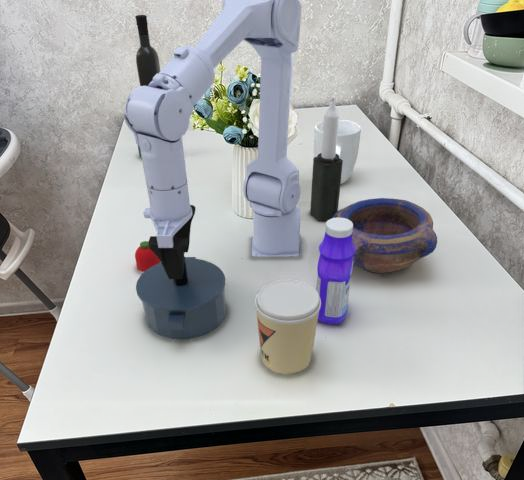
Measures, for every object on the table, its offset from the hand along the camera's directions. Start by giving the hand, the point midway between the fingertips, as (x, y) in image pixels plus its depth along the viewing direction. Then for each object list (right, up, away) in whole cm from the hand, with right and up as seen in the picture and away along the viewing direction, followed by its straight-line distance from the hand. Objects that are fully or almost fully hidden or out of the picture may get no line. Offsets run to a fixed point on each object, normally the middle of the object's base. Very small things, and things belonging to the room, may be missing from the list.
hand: (179, 264), depth 78 cm
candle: (+27, +17, +33) cm, 46 cm away
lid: (0, -3, +3) cm, 4 cm away
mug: (+31, +29, +47) cm, 63 cm away
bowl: (+36, +4, +19) cm, 41 cm away
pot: (0, -8, +7) cm, 10 cm away
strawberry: (-9, +2, +18) cm, 20 cm away
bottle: (+25, -8, +7) cm, 27 cm away
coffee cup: (+17, -15, -1) cm, 23 cm away
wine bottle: (-20, +55, +76) cm, 96 cm away
